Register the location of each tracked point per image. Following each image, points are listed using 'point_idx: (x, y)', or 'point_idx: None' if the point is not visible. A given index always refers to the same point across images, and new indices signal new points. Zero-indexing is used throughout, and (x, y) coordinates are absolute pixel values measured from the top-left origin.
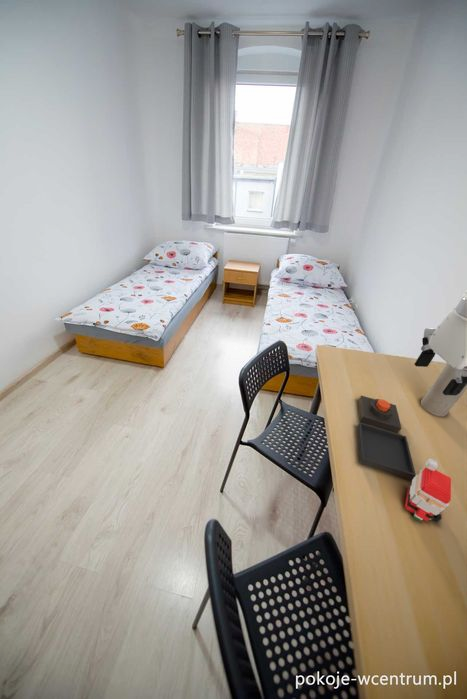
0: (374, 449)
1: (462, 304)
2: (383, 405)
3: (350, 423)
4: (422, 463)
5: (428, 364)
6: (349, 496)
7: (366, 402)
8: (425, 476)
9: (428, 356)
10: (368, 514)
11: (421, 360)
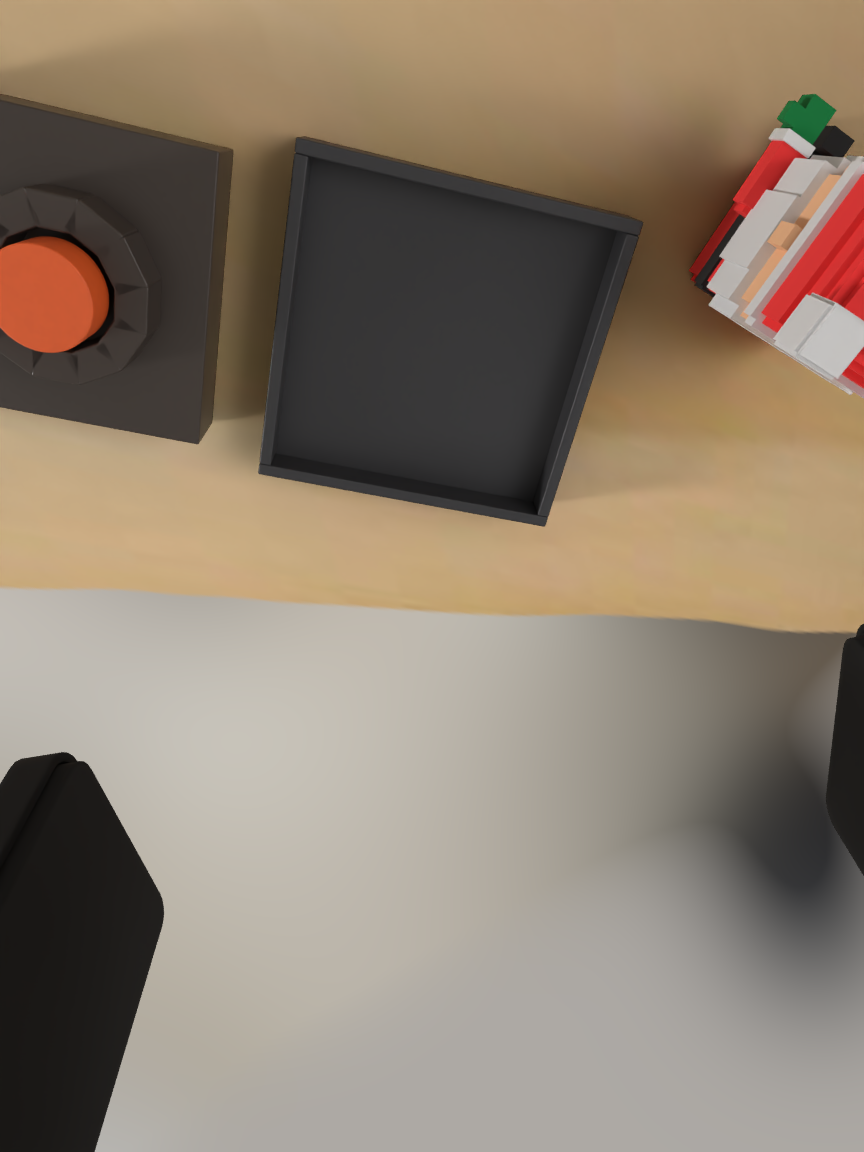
0: (441, 405)
1: None
2: (69, 315)
3: (243, 486)
4: (485, 49)
5: (60, 802)
6: (714, 589)
7: (20, 375)
8: (845, 369)
9: (27, 1089)
10: (798, 529)
11: (112, 1020)
